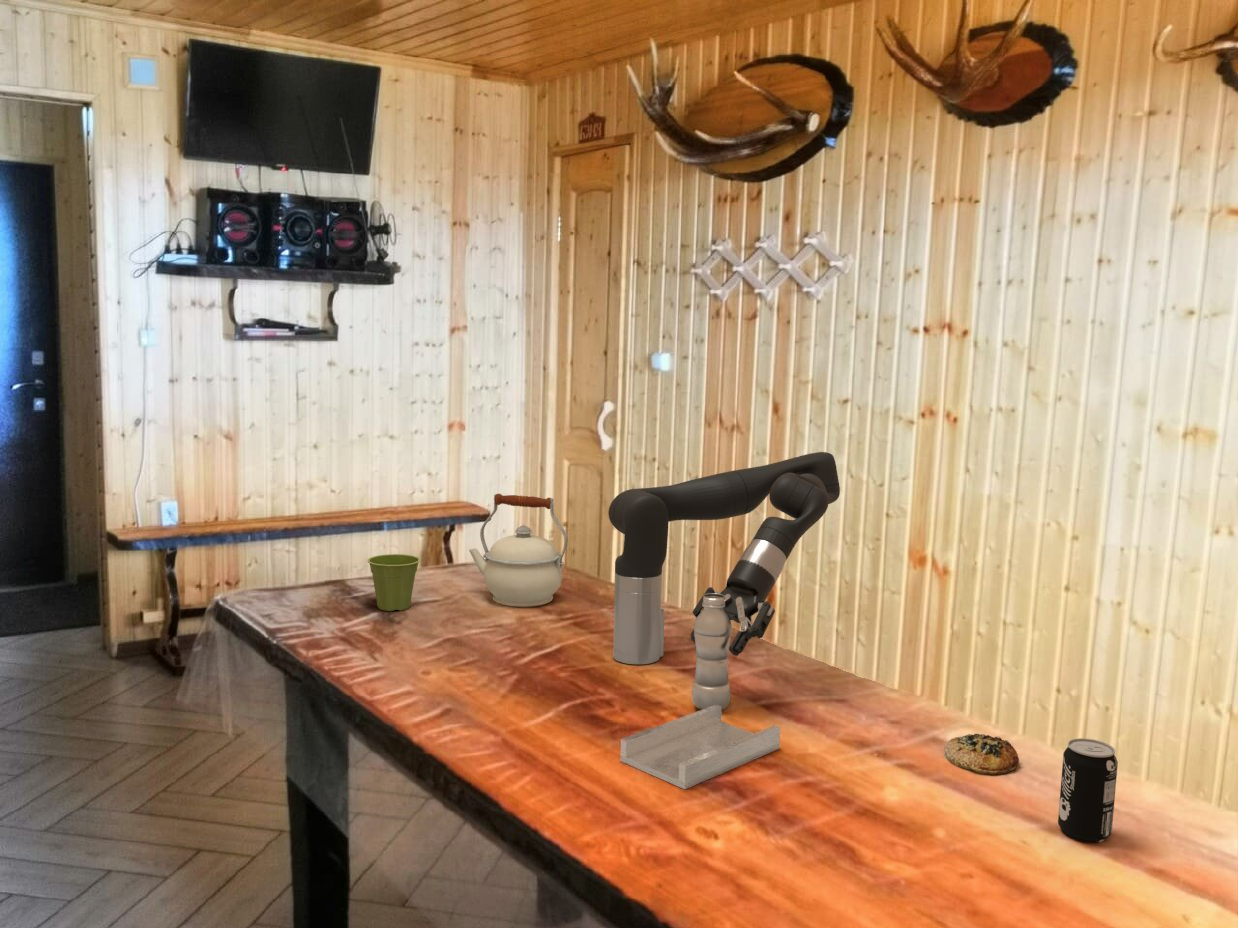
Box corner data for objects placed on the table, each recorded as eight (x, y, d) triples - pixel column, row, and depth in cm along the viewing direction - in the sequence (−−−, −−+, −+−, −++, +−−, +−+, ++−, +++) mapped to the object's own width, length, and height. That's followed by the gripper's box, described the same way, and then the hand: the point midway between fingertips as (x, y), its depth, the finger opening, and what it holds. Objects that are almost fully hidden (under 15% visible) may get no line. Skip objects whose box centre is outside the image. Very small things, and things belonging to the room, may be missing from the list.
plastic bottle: (728, 717, 182) (732, 602, 179) (688, 713, 183) (692, 599, 180) (732, 703, 188) (736, 592, 185) (693, 700, 189) (697, 589, 186)
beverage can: (1048, 821, 146) (1055, 737, 144) (1094, 820, 146) (1102, 736, 145) (1072, 845, 139) (1080, 757, 138) (1121, 844, 140) (1129, 756, 138)
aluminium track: (715, 724, 178) (716, 704, 178) (779, 748, 169) (780, 727, 168) (620, 761, 163) (620, 738, 162) (684, 789, 153) (685, 766, 153)
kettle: (579, 594, 259) (581, 493, 256) (550, 614, 242) (551, 505, 238) (486, 584, 267) (486, 485, 264) (451, 602, 250) (451, 497, 246)
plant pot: (415, 615, 239) (414, 565, 237) (362, 614, 239) (361, 564, 238) (425, 601, 251) (425, 554, 249) (374, 600, 251) (374, 552, 249)
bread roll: (1022, 753, 168) (1022, 724, 167) (1014, 790, 159) (1015, 759, 158) (948, 743, 173) (948, 715, 172) (937, 778, 164) (937, 748, 162)
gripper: (798, 591, 187) (755, 669, 180) (734, 575, 197) (691, 649, 190) (781, 566, 182) (736, 645, 176) (716, 551, 192) (672, 626, 186)
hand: (713, 647), depth 183 cm, fingers open, 8 cm apart
